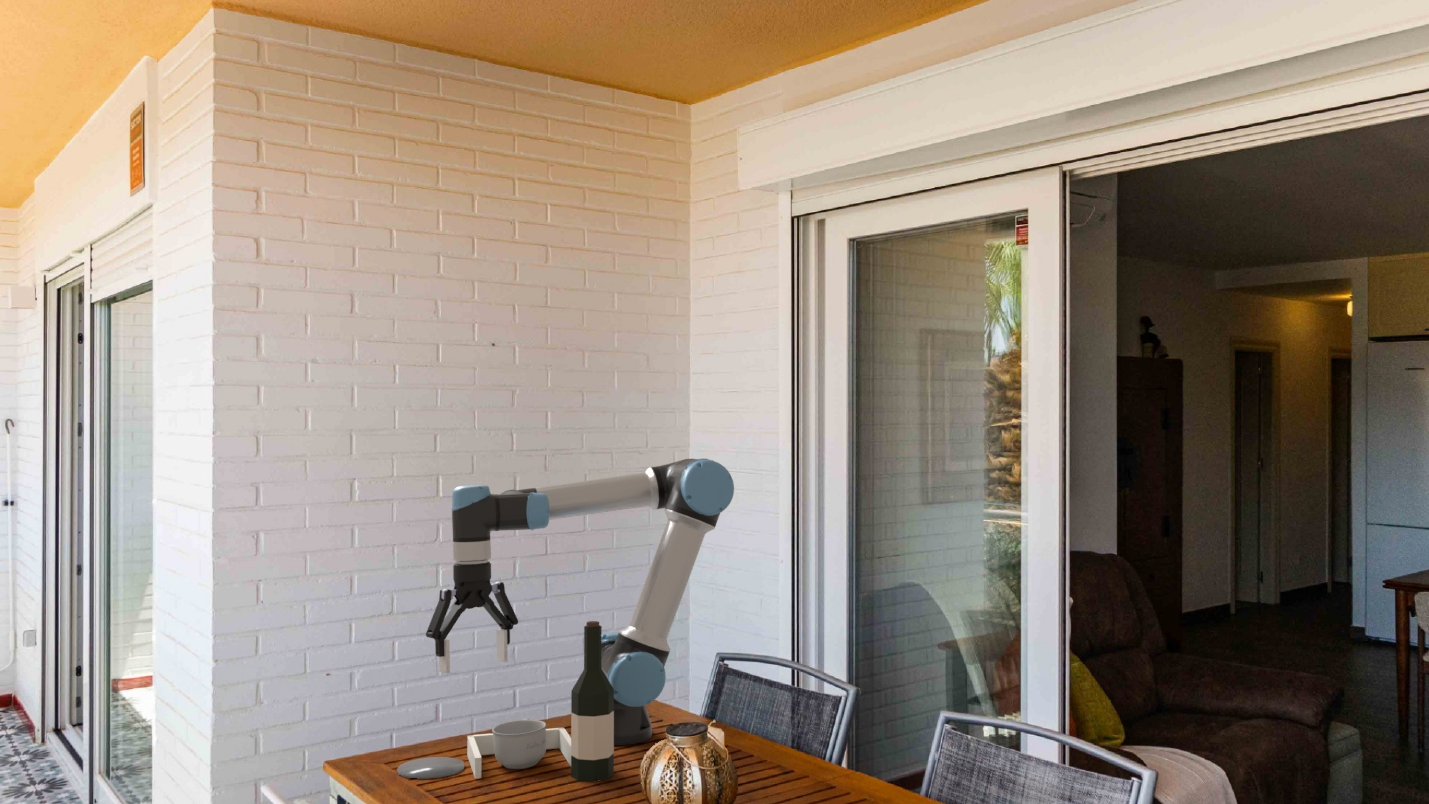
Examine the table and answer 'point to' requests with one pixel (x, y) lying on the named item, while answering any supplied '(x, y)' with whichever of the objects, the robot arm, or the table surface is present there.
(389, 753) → the table surface
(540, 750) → the teacup
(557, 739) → the white u-shaped frame
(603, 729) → the wine bottle
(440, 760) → the grey flat disc
